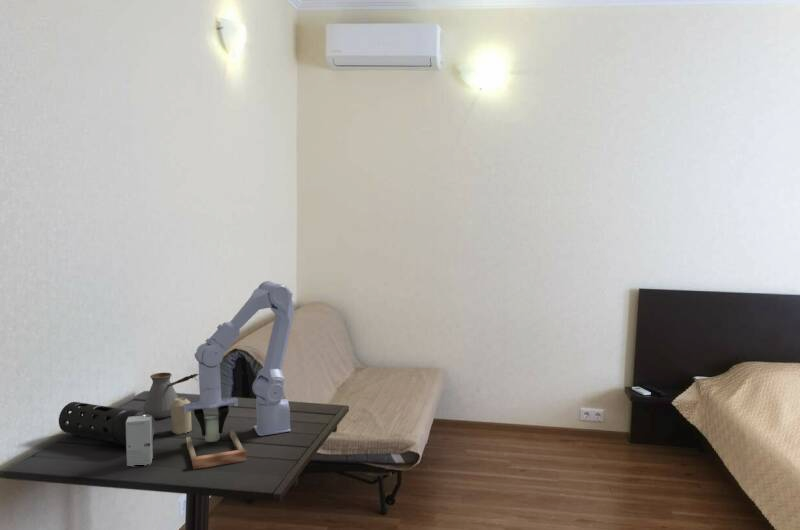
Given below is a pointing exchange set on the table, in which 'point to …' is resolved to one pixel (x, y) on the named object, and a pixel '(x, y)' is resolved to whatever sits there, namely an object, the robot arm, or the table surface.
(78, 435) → the muzzle brake
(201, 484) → the table surface
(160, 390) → the coffee pot
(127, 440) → the skincare box
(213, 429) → the pale green rounded cylinder
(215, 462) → the channel
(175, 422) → the candle
